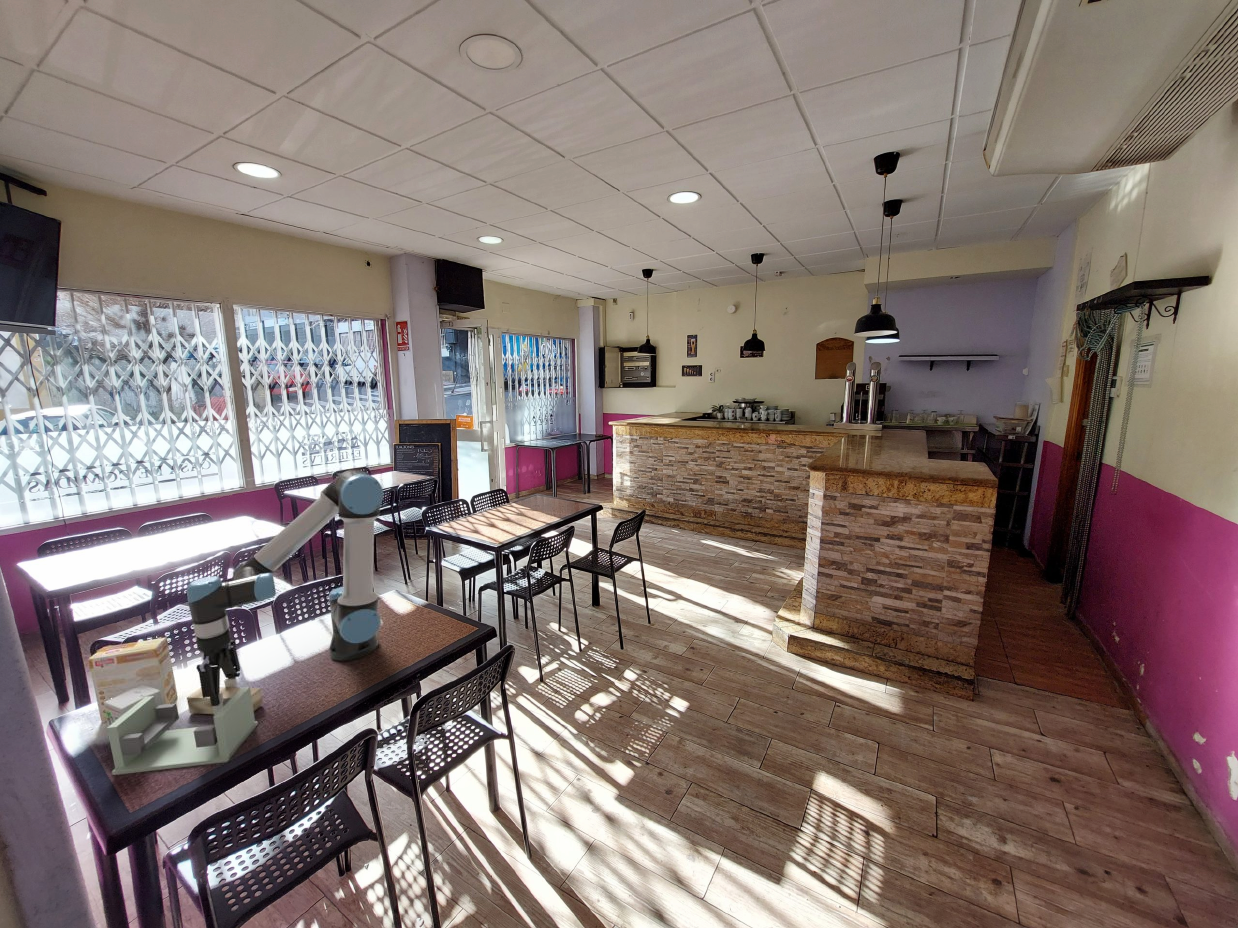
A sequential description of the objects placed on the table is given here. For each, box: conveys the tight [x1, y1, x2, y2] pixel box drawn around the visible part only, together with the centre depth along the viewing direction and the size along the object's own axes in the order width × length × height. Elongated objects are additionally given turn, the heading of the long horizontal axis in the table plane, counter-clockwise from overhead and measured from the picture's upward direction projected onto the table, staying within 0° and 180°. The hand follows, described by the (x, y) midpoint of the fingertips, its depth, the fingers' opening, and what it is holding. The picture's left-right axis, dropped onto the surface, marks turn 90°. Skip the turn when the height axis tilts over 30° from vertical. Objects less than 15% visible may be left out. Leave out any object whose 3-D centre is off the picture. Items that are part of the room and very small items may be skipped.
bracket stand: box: [106, 686, 259, 776], centre depth 128 cm, size 25×14×12 cm, turn 99°
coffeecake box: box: [87, 637, 178, 723], centre depth 144 cm, size 15×7×20 cm, turn 110°
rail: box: [186, 686, 264, 715], centre depth 144 cm, size 18×5×5 cm, turn 86°
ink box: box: [104, 685, 163, 727], centre depth 134 cm, size 9×8×12 cm
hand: (226, 706), depth 144 cm, fingers closed on rail, 6 cm apart
